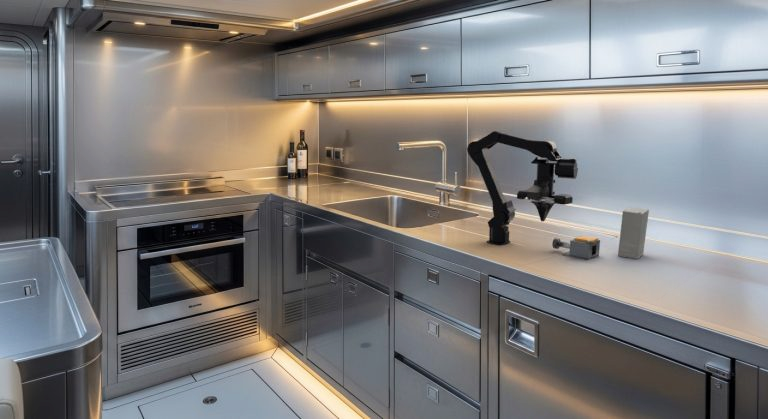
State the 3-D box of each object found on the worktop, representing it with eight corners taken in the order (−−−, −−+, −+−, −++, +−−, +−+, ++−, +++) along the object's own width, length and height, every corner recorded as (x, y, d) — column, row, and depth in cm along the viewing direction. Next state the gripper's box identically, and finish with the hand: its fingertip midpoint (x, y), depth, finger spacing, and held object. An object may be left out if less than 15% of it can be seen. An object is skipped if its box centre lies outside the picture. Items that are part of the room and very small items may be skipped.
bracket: (562, 255, 180) (563, 236, 179) (573, 250, 185) (574, 233, 184) (588, 260, 174) (589, 241, 173) (599, 255, 179) (600, 237, 178)
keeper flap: (574, 240, 178) (574, 238, 178) (580, 238, 181) (580, 236, 181) (591, 242, 174) (591, 240, 174) (597, 240, 177) (597, 238, 177)
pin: (552, 249, 185) (552, 238, 184) (557, 247, 187) (557, 237, 187) (583, 255, 177) (584, 244, 176) (588, 253, 179) (589, 242, 179)
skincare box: (623, 251, 185) (627, 206, 182) (646, 254, 180) (650, 208, 177) (616, 256, 178) (620, 209, 175) (639, 259, 174) (643, 212, 171)
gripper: (509, 176, 187) (507, 220, 189) (558, 181, 173) (555, 228, 176) (526, 174, 194) (524, 216, 197) (574, 178, 181) (571, 223, 184)
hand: (542, 221), depth 188 cm, fingers closed
